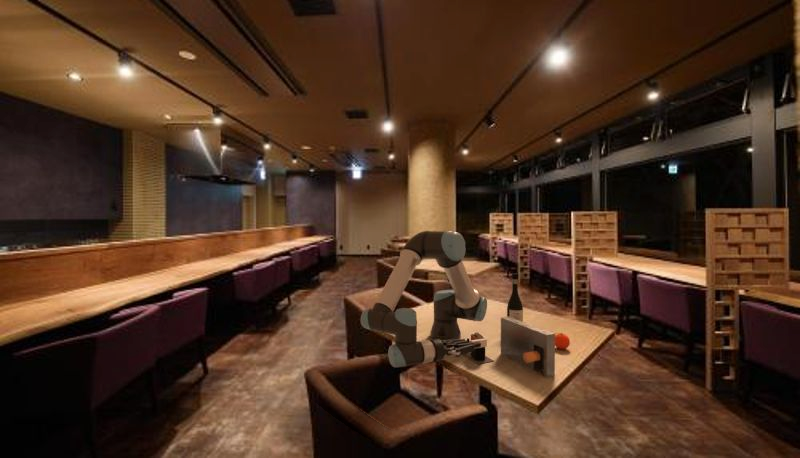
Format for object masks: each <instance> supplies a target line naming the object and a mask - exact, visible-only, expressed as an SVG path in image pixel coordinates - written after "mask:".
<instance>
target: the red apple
mask: <svg viewBox="0 0 800 458" xmlns="http://www.w3.org/2000/svg"><path fill="white" fill-rule="evenodd" d="M570 344H571V341H570V338H569V337H568V335H567V334H565V333H561V332H556V333H555V348H557V349H558V350H566V349H568V347H569V346H570Z"/></svg>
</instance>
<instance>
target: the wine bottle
mask: <svg viewBox="0 0 800 458" xmlns="http://www.w3.org/2000/svg"><path fill="white" fill-rule="evenodd" d="M511 274H512V275H511V277H512V290H511V295H510V298H509V300H508V303H507V308H506V317H511V318H513V319H516V320H519V321H522V322H524V306H523V302H522V299H521V297H520V295H519V286H518V285H519V282H518V281H519V280H518V279H519V274H518V273H516V272H515V273H513V272H512V273H511Z"/></svg>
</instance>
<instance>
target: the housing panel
mask: <svg viewBox="0 0 800 458" xmlns="http://www.w3.org/2000/svg"><path fill="white" fill-rule="evenodd" d="M555 335H556V334H555V333H554V332H552V331H549V330H545V328H541V327H538V326H535V325H533V324H530V323H527V322H524V321H523V322H522V321H519V320H516V319H513V318H511V317H507V316H503V317H500V355H502V356H503V357H506V358H508V359H510V360H512V361H514V362H515V363H517V364H520V365H522V367H526V368H527V369H529V370H531V371H533V372H536V371H540V370H541V371H543V377H545V378H546V379H547V378H551V377H554V376H555V373H556V372H555V371H556V370H555V368H556V367H555V366H556V363H555V362H556V346H555ZM532 351H537V352H538V353H539V354H540V360H539V361H534V362H530V363H526V362H525V361H524V359H523V354H524V353H527V352H532Z"/></svg>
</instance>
